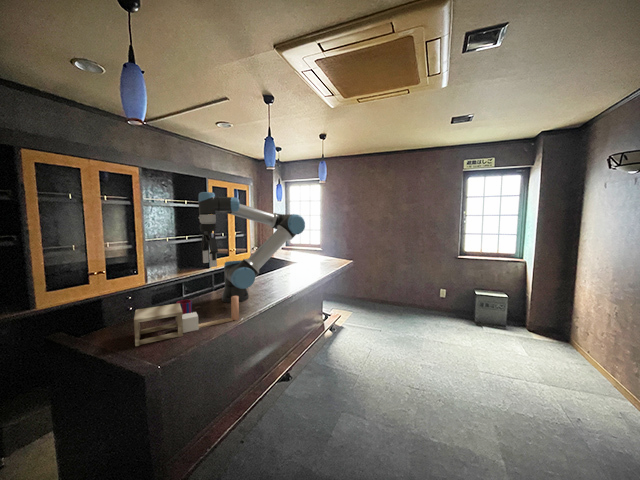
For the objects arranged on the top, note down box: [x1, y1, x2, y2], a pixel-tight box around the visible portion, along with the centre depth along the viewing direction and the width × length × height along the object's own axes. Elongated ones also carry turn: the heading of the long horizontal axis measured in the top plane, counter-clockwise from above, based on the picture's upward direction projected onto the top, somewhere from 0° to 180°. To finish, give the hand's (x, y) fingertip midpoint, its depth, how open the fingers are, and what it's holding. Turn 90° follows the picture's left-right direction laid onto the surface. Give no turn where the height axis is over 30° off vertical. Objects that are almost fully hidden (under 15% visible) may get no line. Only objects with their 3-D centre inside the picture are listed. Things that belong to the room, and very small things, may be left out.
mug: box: [175, 299, 193, 314], centre depth 125 cm, size 7×10×7 cm
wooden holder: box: [133, 303, 184, 347], centre depth 105 cm, size 16×13×10 cm
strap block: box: [182, 296, 240, 334], centre depth 116 cm, size 24×6×11 cm, turn 124°
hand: (209, 264), depth 130 cm, fingers open, 13 cm apart
